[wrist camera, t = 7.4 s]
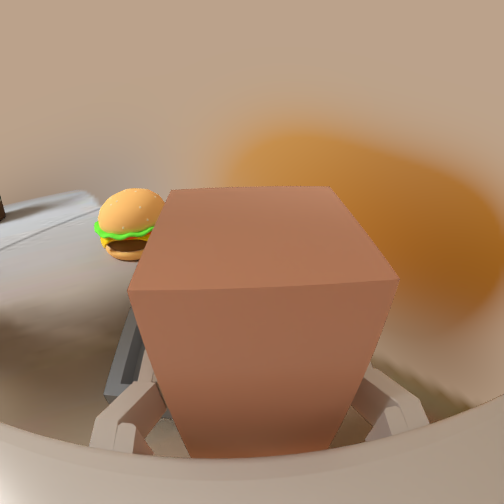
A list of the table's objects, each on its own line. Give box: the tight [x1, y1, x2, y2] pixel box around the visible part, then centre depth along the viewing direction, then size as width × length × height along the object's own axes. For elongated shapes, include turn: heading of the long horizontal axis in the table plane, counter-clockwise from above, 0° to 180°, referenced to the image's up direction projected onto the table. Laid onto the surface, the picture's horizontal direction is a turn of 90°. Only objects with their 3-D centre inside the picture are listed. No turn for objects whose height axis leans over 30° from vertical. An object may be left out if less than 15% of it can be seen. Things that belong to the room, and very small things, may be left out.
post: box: [127, 186, 400, 458], centre depth 11 cm, size 5×5×14 cm
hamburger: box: [94, 188, 165, 260], centre depth 43 cm, size 12×12×9 cm
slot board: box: [103, 306, 172, 418], centre depth 28 cm, size 17×10×3 cm, turn 4°
